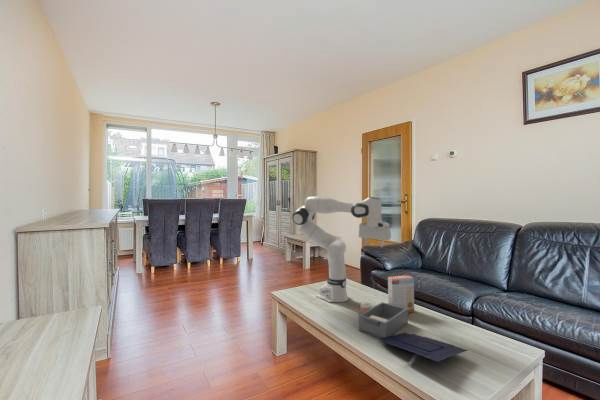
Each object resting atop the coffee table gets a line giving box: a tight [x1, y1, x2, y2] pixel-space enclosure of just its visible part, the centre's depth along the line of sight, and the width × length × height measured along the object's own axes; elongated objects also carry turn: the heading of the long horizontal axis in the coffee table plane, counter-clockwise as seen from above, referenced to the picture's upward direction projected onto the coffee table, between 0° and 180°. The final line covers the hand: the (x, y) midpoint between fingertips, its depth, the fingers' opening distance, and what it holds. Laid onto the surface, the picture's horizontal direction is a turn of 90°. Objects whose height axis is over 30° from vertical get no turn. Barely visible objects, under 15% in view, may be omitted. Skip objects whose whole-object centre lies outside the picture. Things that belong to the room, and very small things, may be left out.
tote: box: [358, 302, 409, 339], centre depth 150 cm, size 15×27×8 cm, turn 137°
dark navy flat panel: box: [378, 332, 469, 362], centre depth 126 cm, size 24×30×4 cm
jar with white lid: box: [359, 302, 370, 314], centre depth 162 cm, size 5×5×8 cm
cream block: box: [369, 315, 388, 322], centre depth 145 cm, size 10×7×5 cm
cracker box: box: [387, 275, 415, 314], centre depth 171 cm, size 14×6×21 cm, turn 99°
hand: (374, 246), depth 174 cm, fingers open, 8 cm apart
